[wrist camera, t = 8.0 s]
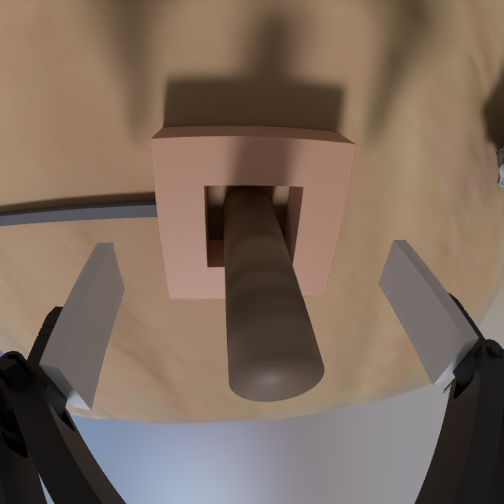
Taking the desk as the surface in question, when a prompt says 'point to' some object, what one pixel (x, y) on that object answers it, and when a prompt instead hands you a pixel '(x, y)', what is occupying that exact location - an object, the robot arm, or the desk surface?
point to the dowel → (264, 305)
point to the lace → (81, 213)
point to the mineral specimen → (501, 166)
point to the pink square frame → (250, 174)
